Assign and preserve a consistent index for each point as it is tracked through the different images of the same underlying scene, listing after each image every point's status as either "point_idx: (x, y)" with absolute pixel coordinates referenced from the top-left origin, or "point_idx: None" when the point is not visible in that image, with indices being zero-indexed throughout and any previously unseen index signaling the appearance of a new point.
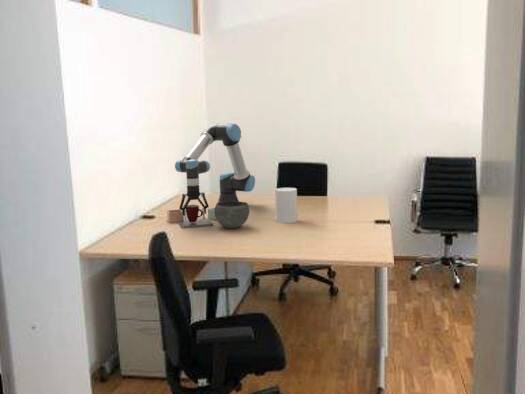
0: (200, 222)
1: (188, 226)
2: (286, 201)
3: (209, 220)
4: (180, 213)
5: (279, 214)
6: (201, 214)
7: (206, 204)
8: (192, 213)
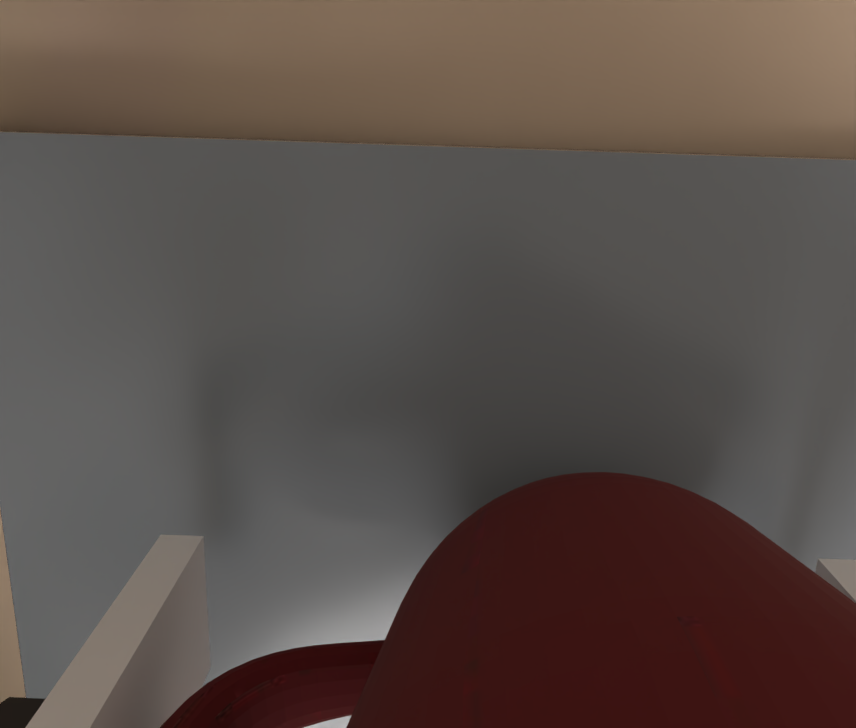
0: (335, 483)
1: (839, 159)
2: None
3: (24, 619)
4: None
5: None
6: (212, 712)
7: None
8: (751, 566)
